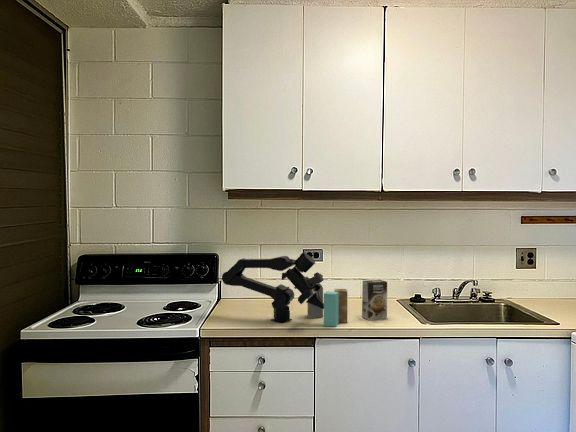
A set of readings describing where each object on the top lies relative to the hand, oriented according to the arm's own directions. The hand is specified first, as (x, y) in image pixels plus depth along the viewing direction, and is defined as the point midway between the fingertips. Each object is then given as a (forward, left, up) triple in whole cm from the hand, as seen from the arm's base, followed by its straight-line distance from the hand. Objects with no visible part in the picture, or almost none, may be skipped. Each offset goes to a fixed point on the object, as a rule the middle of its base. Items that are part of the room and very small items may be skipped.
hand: (324, 308), depth 181 cm
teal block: (+3, +1, -7) cm, 7 cm away
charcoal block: (-11, +7, -7) cm, 14 cm away
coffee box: (+10, +22, -7) cm, 25 cm away
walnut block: (+2, +9, -7) cm, 11 cm away
